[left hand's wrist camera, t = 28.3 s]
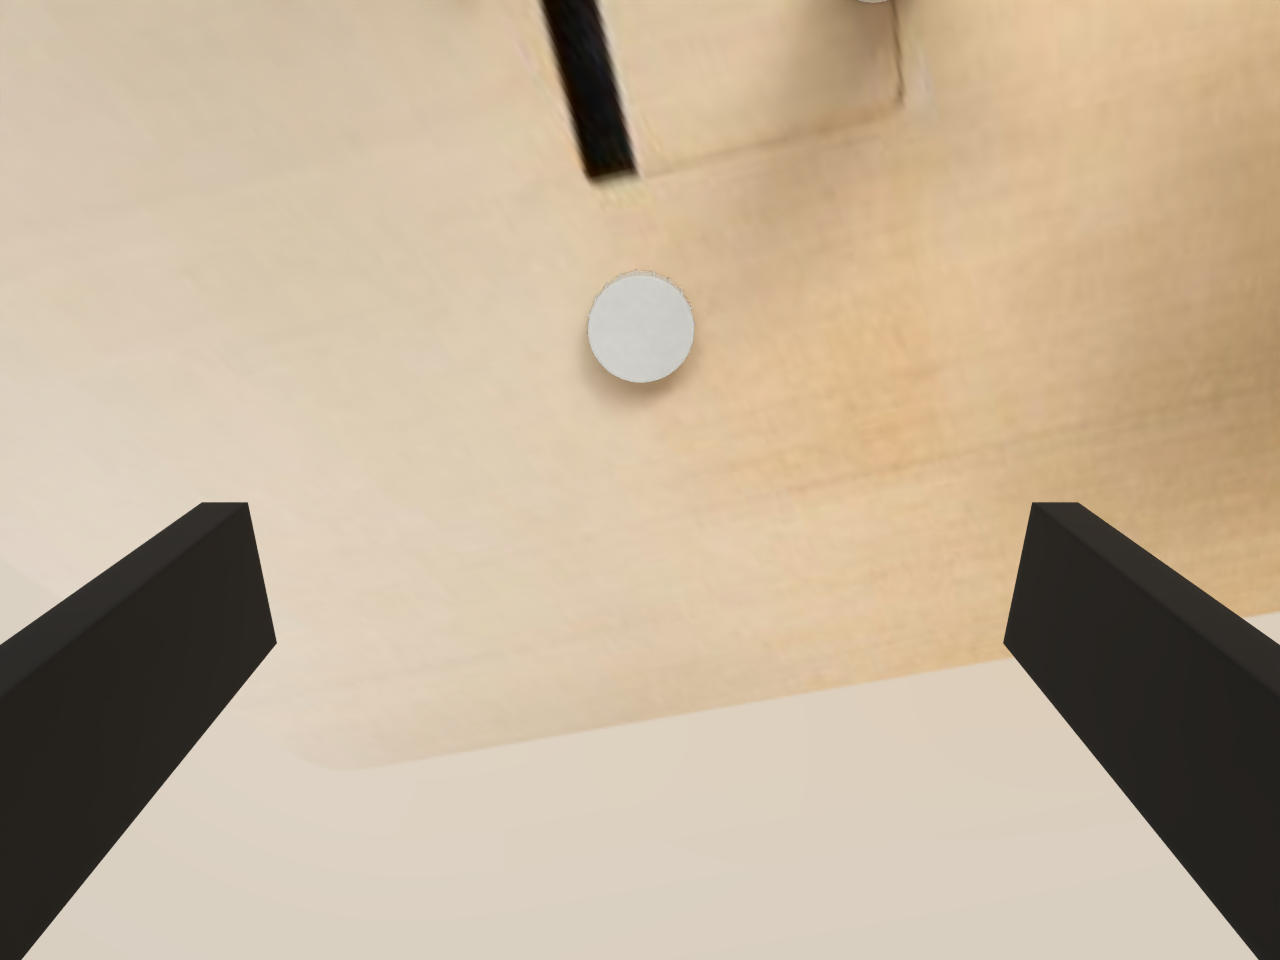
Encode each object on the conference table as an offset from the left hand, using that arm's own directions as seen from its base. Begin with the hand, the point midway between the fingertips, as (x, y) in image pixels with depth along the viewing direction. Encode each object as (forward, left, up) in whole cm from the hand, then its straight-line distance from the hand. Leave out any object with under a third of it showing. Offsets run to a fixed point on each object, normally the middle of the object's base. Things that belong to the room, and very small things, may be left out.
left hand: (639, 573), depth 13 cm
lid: (0, 0, -26) cm, 26 cm away
